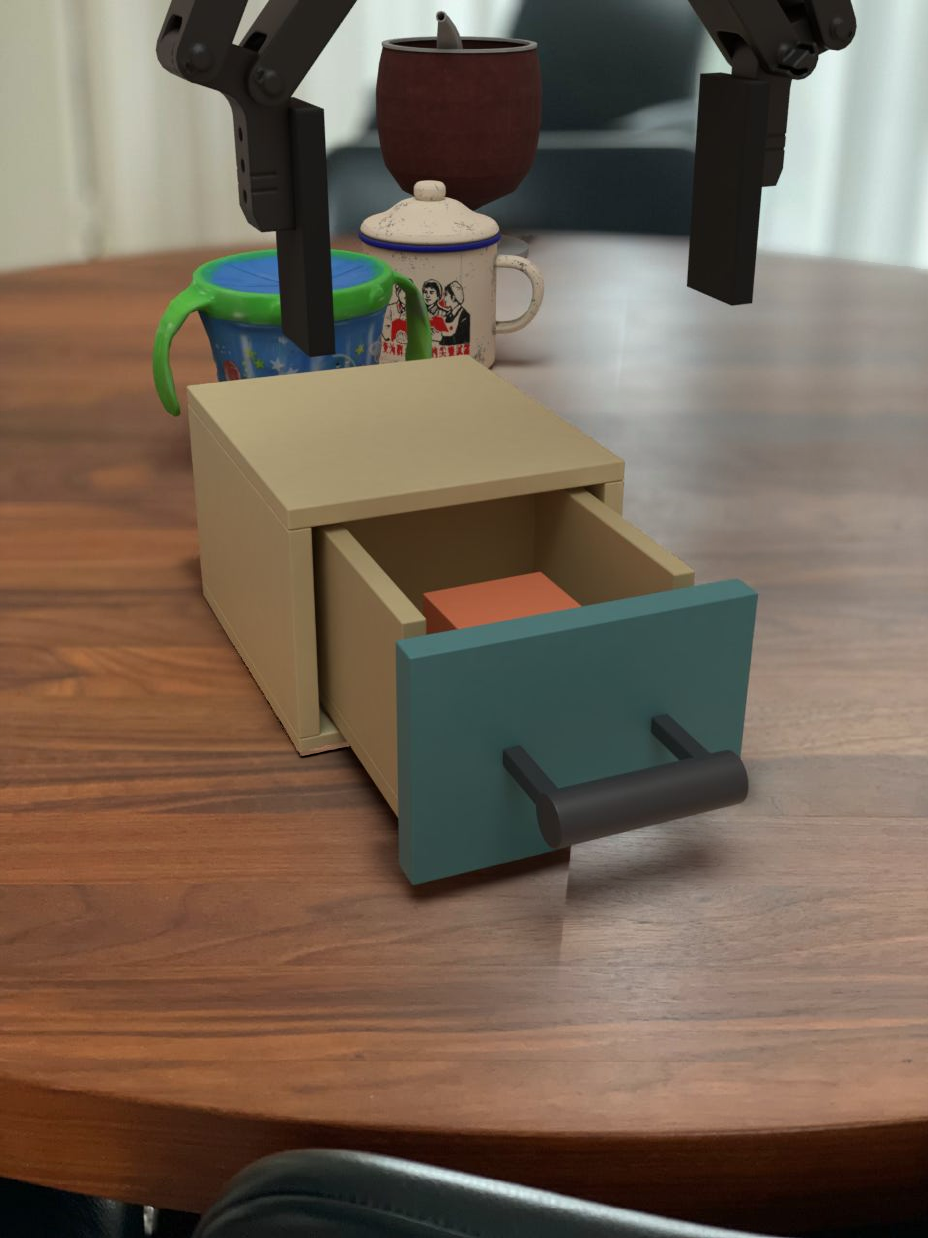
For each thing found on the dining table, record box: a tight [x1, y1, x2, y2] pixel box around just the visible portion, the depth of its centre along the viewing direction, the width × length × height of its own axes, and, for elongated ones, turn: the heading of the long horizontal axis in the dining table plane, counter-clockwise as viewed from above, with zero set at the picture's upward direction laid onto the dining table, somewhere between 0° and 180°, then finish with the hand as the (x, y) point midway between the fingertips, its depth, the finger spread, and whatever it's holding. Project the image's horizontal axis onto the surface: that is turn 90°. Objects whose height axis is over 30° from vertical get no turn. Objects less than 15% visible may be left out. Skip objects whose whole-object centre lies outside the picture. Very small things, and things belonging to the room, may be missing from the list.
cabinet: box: [186, 355, 626, 752], centre depth 58 cm, size 15×13×10 cm
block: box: [423, 572, 582, 635], centre depth 49 cm, size 4×4×4 cm
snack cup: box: [152, 248, 432, 418], centre depth 78 cm, size 16×10×10 cm
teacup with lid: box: [357, 181, 545, 369], centre depth 93 cm, size 12×9×12 cm
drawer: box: [310, 487, 759, 886], centre depth 48 cm, size 18×11×8 cm, turn 23°
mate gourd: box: [375, 10, 543, 259], centre depth 121 cm, size 16×14×20 cm
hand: (524, 319), depth 44 cm, fingers open, 13 cm apart
